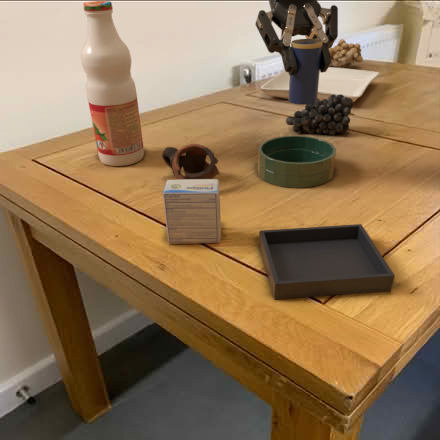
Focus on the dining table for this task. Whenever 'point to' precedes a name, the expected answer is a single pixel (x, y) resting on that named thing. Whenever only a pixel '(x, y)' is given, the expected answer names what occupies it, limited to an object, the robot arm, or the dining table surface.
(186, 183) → the medicine box
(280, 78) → the square plate
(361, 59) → the mineral formation
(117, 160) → the fruit juice
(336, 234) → the tray
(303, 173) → the bowl
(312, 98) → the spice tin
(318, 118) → the fruit
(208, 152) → the pottery mug
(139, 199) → the dining table surface
